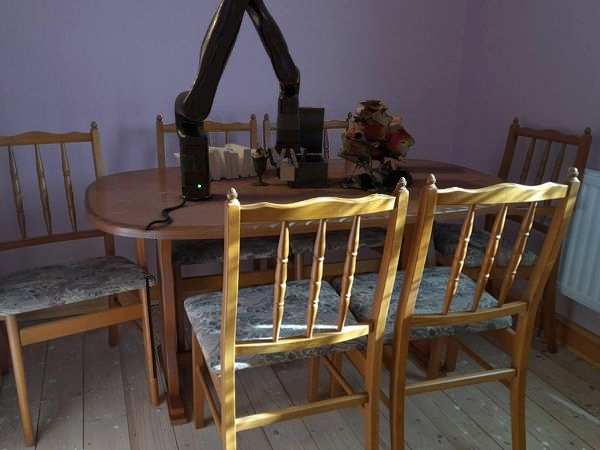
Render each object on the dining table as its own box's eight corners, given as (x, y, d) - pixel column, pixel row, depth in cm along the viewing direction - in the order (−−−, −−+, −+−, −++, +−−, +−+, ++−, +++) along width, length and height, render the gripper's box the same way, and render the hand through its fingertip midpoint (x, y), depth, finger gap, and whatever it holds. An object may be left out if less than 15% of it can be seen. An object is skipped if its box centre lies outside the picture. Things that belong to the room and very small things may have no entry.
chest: (327, 187, 188) (328, 162, 185) (291, 188, 187) (291, 162, 184) (321, 177, 204) (321, 154, 201) (287, 177, 203) (287, 154, 200)
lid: (324, 108, 191) (322, 103, 196) (288, 108, 190) (287, 103, 195) (321, 153, 201) (320, 147, 205) (287, 153, 200) (286, 147, 204)
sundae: (252, 186, 188) (252, 144, 183) (249, 182, 194) (248, 141, 190) (271, 186, 190) (271, 143, 185) (267, 181, 196) (267, 140, 191)
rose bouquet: (418, 180, 200) (424, 98, 191) (389, 196, 176) (394, 103, 167) (355, 173, 213) (358, 95, 204) (320, 187, 189) (322, 99, 180)
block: (294, 180, 178) (294, 167, 177) (280, 180, 178) (280, 167, 176) (293, 178, 183) (293, 164, 181) (279, 177, 182) (279, 164, 181)
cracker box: (396, 173, 213) (399, 119, 207) (380, 172, 215) (384, 119, 209) (399, 166, 226) (402, 116, 220) (384, 165, 228) (387, 115, 222)
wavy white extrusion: (185, 183, 192) (184, 154, 188) (172, 174, 205) (171, 147, 202) (273, 174, 208) (273, 147, 205) (255, 167, 222) (255, 141, 219)
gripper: (266, 128, 171) (265, 180, 176) (310, 128, 172) (309, 181, 177) (265, 125, 178) (265, 176, 183) (308, 126, 179) (307, 176, 184)
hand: (286, 178), depth 180 cm, fingers closed on block, 4 cm apart
